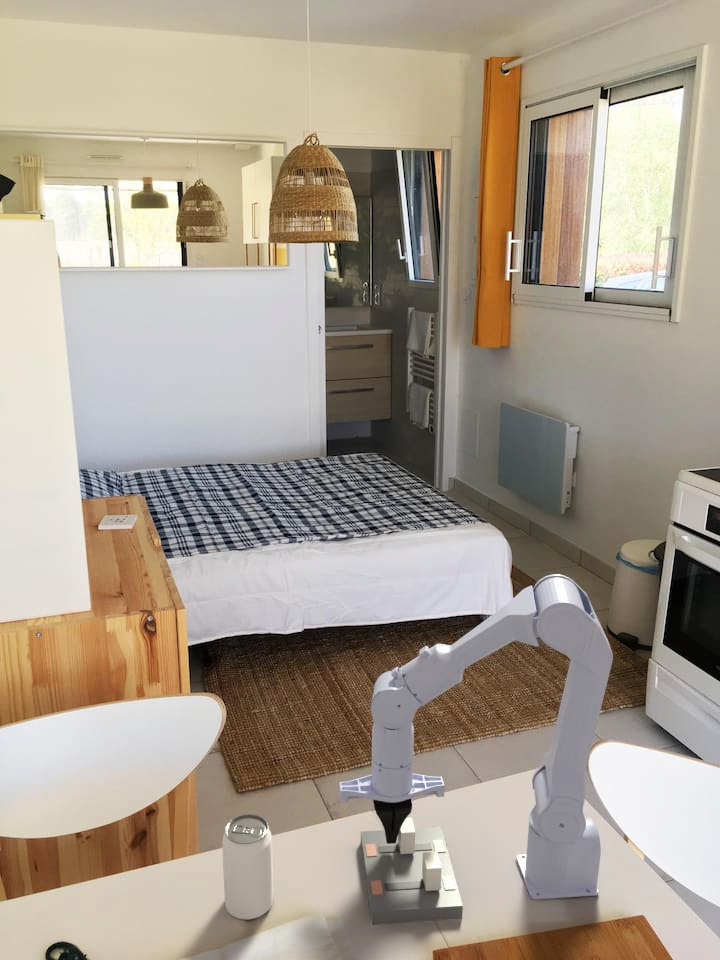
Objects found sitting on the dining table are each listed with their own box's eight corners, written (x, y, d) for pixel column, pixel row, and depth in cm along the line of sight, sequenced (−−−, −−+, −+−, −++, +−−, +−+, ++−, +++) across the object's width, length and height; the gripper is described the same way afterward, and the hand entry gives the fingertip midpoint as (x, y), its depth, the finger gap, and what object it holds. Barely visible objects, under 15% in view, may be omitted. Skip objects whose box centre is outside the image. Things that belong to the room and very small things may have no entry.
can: (265, 925, 107) (262, 849, 103) (217, 917, 108) (214, 841, 104) (279, 888, 113) (277, 815, 109) (234, 881, 114) (231, 808, 111)
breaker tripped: (411, 838, 119) (411, 817, 118) (414, 853, 116) (415, 832, 115) (397, 839, 119) (398, 818, 118) (400, 854, 116) (401, 832, 115)
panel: (440, 838, 123) (441, 826, 122) (462, 918, 108) (462, 905, 108) (360, 842, 121) (360, 830, 121) (371, 924, 107) (371, 911, 106)
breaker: (436, 873, 113) (437, 851, 112) (440, 890, 110) (441, 867, 109) (422, 874, 112) (422, 852, 111) (425, 890, 109) (426, 868, 108)
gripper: (439, 736, 117) (435, 816, 121) (337, 741, 116) (337, 822, 120) (448, 767, 111) (445, 850, 115) (341, 773, 109) (341, 857, 113)
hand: (390, 838), depth 117 cm, fingers closed
